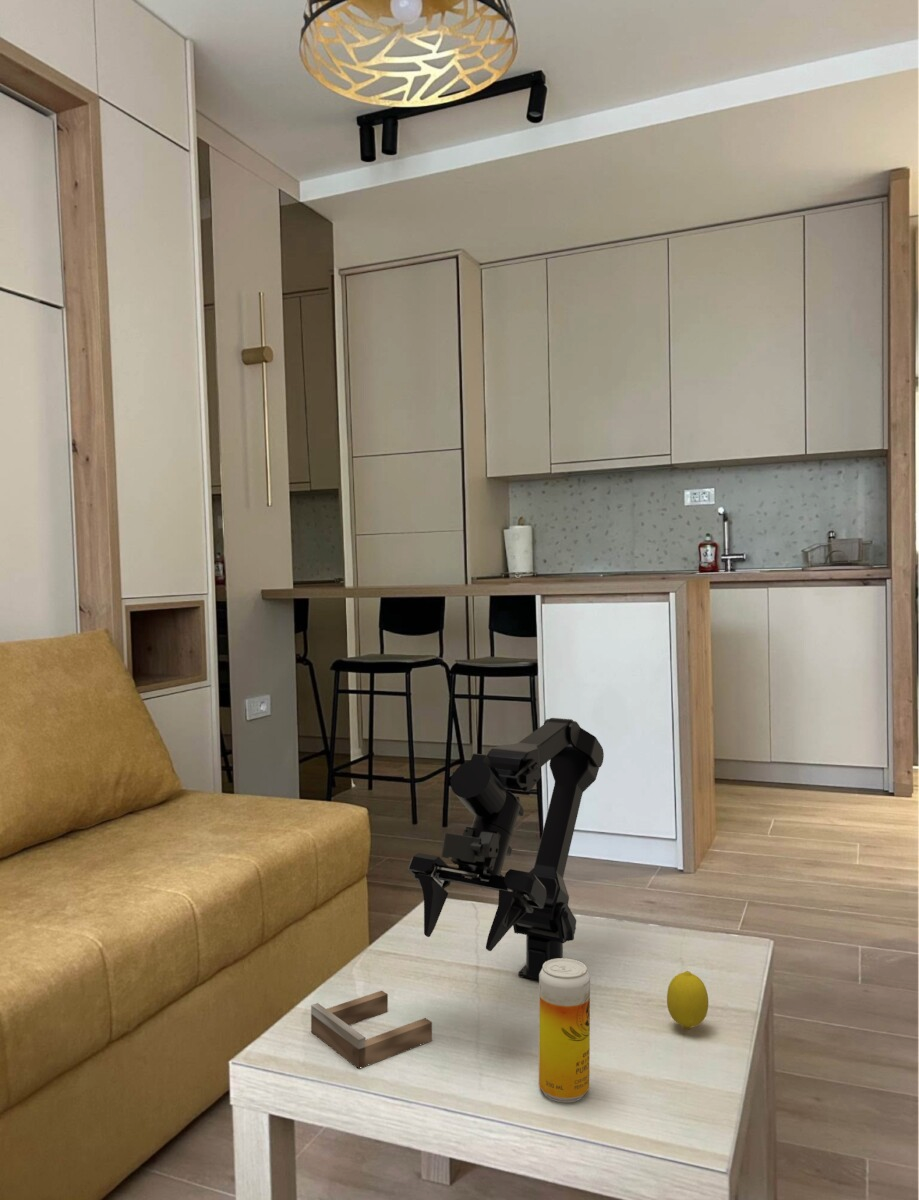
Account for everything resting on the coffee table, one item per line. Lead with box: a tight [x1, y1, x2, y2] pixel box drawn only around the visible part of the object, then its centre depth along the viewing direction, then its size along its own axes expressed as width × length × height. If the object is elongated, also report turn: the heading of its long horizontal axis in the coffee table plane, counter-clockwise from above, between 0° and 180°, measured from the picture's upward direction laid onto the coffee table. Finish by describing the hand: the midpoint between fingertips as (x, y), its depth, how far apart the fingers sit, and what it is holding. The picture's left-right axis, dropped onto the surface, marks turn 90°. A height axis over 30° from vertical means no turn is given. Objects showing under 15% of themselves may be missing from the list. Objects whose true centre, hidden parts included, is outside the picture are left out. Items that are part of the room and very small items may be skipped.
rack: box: [310, 990, 433, 1069], centre depth 122 cm, size 12×12×4 cm
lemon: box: [666, 970, 709, 1031], centre depth 124 cm, size 6×6×8 cm
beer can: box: [538, 957, 591, 1104], centre depth 109 cm, size 6×6×15 cm
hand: (456, 942), depth 118 cm, fingers open, 9 cm apart
